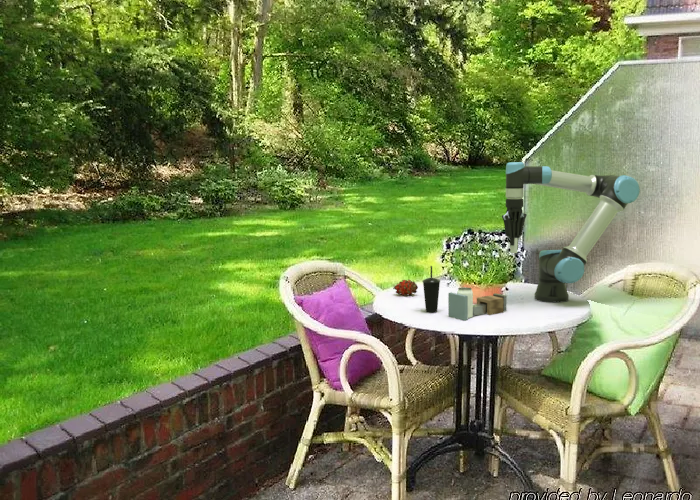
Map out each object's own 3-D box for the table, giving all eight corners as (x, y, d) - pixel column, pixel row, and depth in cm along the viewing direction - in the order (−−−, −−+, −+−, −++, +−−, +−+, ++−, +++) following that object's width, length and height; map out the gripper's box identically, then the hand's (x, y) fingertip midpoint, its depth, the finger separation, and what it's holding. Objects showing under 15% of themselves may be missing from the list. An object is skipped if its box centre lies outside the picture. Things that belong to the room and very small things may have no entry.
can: (475, 316, 292) (475, 288, 290) (467, 319, 287) (467, 290, 286) (462, 314, 296) (462, 286, 295) (453, 317, 292) (454, 288, 290)
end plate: (451, 315, 294) (451, 292, 293) (467, 320, 286) (467, 296, 285) (448, 316, 293) (448, 292, 292) (464, 320, 285) (464, 296, 284)
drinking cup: (422, 313, 299) (422, 267, 297) (422, 309, 307) (422, 264, 304) (440, 313, 298) (440, 267, 296) (440, 309, 306) (440, 264, 303)
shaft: (495, 308, 306) (495, 293, 305) (506, 310, 300) (506, 295, 299) (465, 313, 296) (465, 298, 295) (476, 316, 291) (476, 300, 290)
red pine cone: (419, 299, 337) (395, 302, 339) (419, 286, 343) (395, 289, 346) (416, 287, 331) (391, 290, 334) (416, 274, 337) (391, 277, 340)
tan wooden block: (490, 309, 305) (490, 295, 304) (503, 312, 298) (503, 298, 298) (476, 311, 301) (476, 297, 300) (489, 315, 294) (489, 300, 293)
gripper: (518, 197, 307) (518, 250, 310) (497, 198, 300) (496, 253, 303) (531, 197, 301) (530, 252, 304) (510, 199, 294) (509, 255, 297)
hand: (513, 252), depth 304 cm, fingers closed
